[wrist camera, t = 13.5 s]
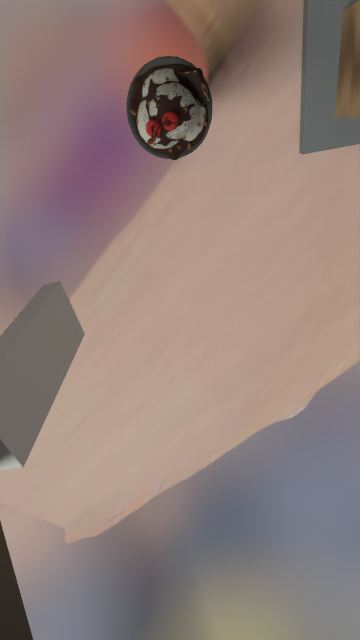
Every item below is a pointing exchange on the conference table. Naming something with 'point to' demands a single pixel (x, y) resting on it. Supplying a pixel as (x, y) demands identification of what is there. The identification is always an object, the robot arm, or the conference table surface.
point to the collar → (349, 65)
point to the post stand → (323, 79)
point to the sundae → (169, 107)
